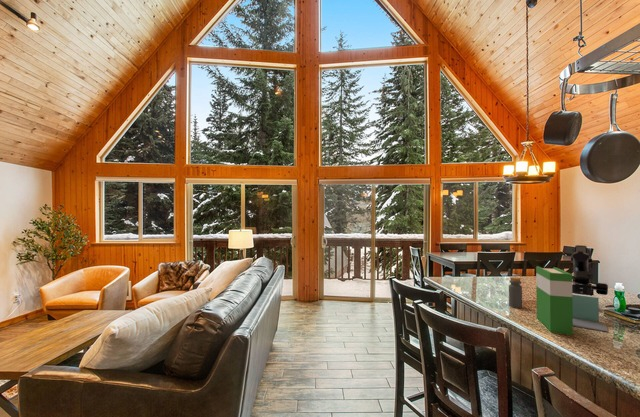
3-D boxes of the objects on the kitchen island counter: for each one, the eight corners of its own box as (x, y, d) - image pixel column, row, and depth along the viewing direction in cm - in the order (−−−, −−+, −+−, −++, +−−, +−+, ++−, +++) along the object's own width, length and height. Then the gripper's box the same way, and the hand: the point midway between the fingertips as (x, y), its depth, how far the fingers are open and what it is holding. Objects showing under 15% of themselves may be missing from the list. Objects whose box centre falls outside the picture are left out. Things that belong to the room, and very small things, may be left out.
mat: (561, 317, 144) (561, 316, 144) (605, 324, 134) (605, 323, 134) (560, 324, 135) (560, 322, 135) (607, 332, 125) (607, 331, 125)
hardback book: (536, 318, 141) (536, 266, 142) (556, 320, 139) (555, 267, 139) (550, 332, 125) (549, 273, 125) (572, 335, 122) (572, 274, 123)
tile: (567, 316, 146) (566, 292, 146) (598, 321, 139) (598, 296, 139) (566, 317, 143) (566, 293, 143) (598, 323, 136) (598, 298, 137)
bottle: (520, 305, 162) (520, 276, 163) (523, 308, 157) (523, 278, 157) (507, 304, 164) (507, 276, 165) (510, 307, 159) (510, 278, 159)
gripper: (556, 262, 156) (556, 288, 147) (607, 266, 144) (610, 294, 135) (557, 275, 162) (557, 301, 153) (606, 280, 150) (608, 308, 141)
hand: (581, 301), depth 145 cm, fingers closed
